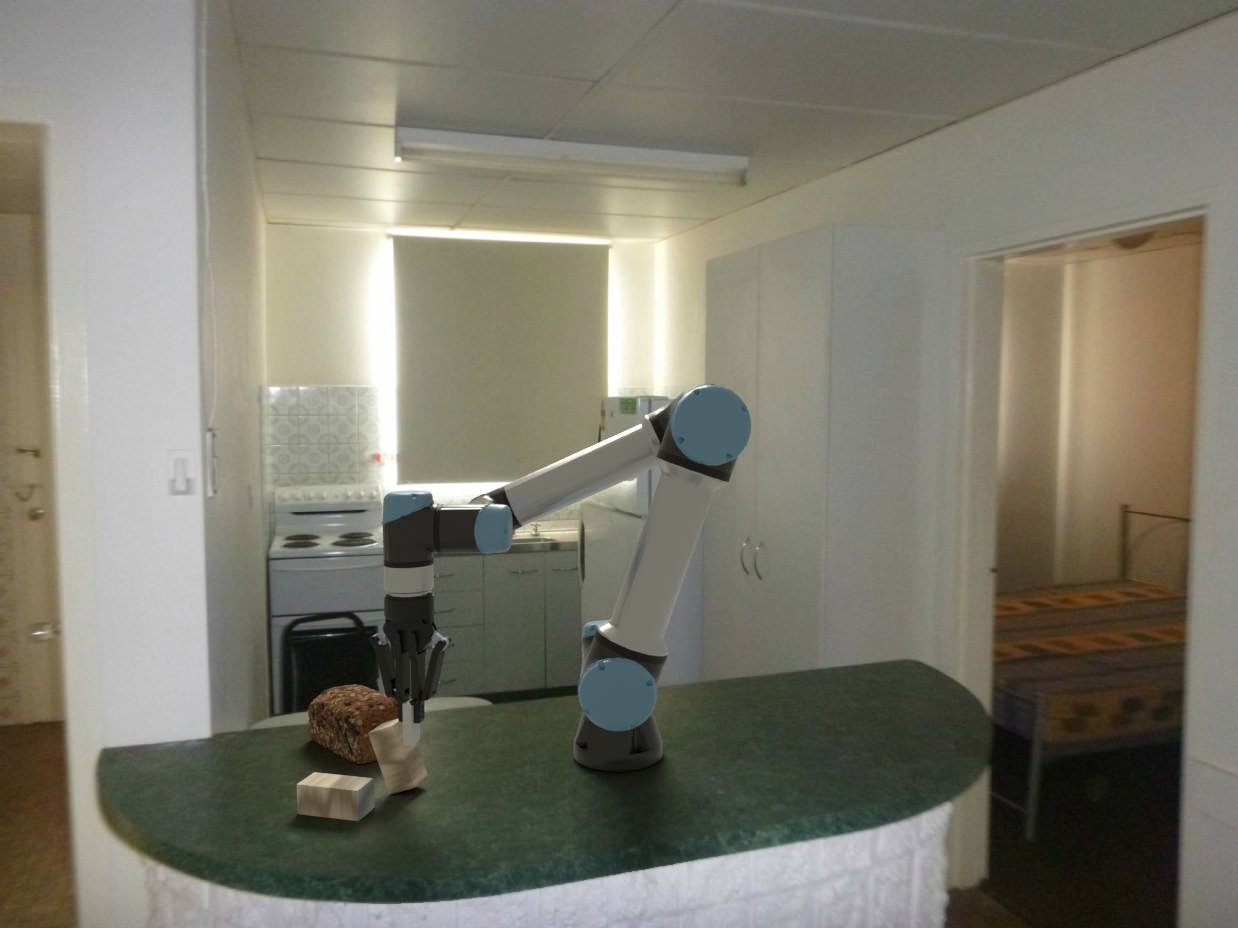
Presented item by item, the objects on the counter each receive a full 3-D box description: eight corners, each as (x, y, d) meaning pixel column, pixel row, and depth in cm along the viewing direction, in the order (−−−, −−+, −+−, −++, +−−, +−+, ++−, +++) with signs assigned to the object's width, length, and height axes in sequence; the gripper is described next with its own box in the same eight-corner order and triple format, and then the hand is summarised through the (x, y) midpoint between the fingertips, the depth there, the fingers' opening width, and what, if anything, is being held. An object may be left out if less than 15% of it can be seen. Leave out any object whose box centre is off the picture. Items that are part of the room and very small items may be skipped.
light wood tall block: (428, 775, 141) (406, 715, 141) (414, 787, 137) (392, 725, 137) (403, 782, 142) (382, 723, 143) (389, 794, 138) (367, 733, 138)
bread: (411, 752, 155) (410, 695, 155) (354, 769, 148) (352, 710, 148) (360, 725, 169) (359, 673, 168) (306, 740, 162) (304, 686, 161)
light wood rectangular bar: (373, 778, 133) (314, 772, 136) (357, 790, 129) (296, 784, 131) (374, 807, 134) (315, 801, 136) (358, 821, 129) (297, 814, 132)
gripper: (458, 588, 139) (460, 737, 141) (383, 585, 143) (385, 730, 144) (437, 598, 132) (439, 755, 134) (358, 594, 135) (361, 747, 137)
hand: (411, 742), depth 139 cm, fingers closed
